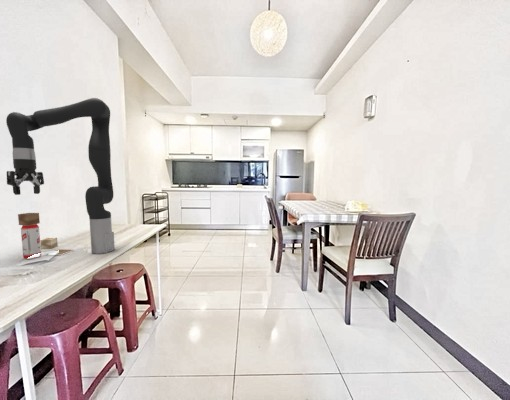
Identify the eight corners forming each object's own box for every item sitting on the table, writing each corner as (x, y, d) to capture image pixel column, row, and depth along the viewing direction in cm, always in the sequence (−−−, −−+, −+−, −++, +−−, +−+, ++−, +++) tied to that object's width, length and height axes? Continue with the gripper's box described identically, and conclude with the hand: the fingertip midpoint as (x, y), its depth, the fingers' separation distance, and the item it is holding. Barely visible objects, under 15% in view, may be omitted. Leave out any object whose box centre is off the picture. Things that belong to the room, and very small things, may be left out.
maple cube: (57, 246, 131) (57, 237, 131) (51, 248, 127) (50, 239, 126) (47, 246, 131) (46, 237, 130) (41, 249, 126) (40, 240, 125)
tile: (74, 250, 123) (74, 249, 123) (59, 255, 115) (59, 254, 115) (59, 250, 124) (59, 249, 124) (43, 255, 116) (43, 253, 115)
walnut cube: (39, 223, 113) (38, 212, 112) (28, 225, 108) (27, 214, 107) (30, 223, 113) (29, 212, 113) (18, 225, 108) (17, 214, 108)
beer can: (40, 254, 116) (37, 222, 115) (42, 257, 112) (40, 223, 111) (22, 257, 111) (19, 224, 110) (24, 260, 108) (21, 225, 106)
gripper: (14, 157, 101) (18, 195, 102) (47, 160, 115) (49, 193, 116) (-1, 157, 102) (2, 195, 103) (33, 160, 116) (35, 193, 117)
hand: (27, 194), depth 110 cm, fingers open, 8 cm apart
